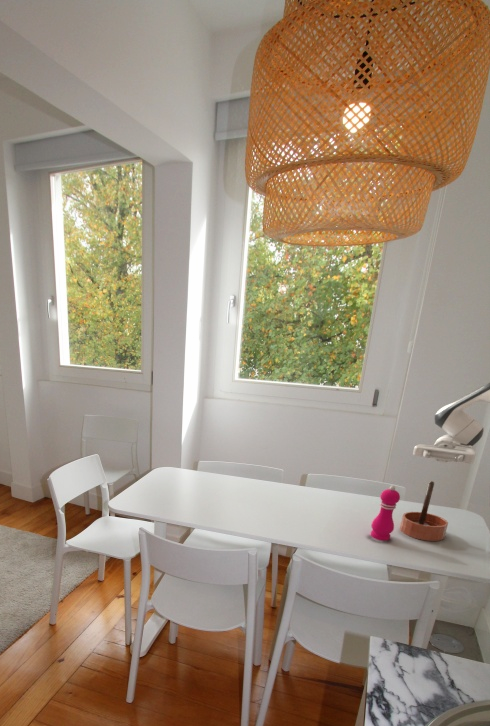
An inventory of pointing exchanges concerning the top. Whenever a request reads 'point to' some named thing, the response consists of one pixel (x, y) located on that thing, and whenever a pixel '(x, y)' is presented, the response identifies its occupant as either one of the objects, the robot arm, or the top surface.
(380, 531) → the pepper mill
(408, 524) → the bowl
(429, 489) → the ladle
